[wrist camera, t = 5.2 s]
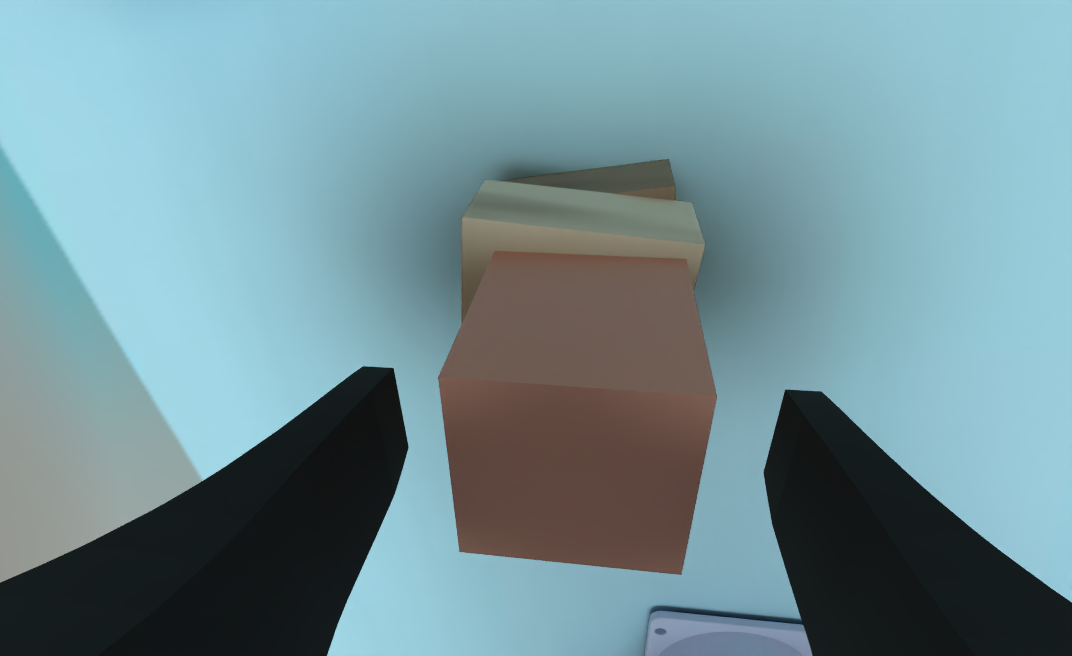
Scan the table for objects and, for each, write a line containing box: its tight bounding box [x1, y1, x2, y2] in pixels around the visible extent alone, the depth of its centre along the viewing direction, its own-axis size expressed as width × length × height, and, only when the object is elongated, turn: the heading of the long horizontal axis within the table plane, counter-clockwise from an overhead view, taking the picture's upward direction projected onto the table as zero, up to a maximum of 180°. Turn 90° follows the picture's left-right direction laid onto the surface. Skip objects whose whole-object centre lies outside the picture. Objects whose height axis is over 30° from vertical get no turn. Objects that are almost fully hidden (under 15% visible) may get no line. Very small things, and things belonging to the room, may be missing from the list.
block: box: [438, 251, 717, 575], centre depth 11 cm, size 4×4×4 cm
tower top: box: [462, 180, 705, 323], centre depth 14 cm, size 5×5×2 cm
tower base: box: [501, 159, 676, 201], centre depth 16 cm, size 5×5×2 cm
